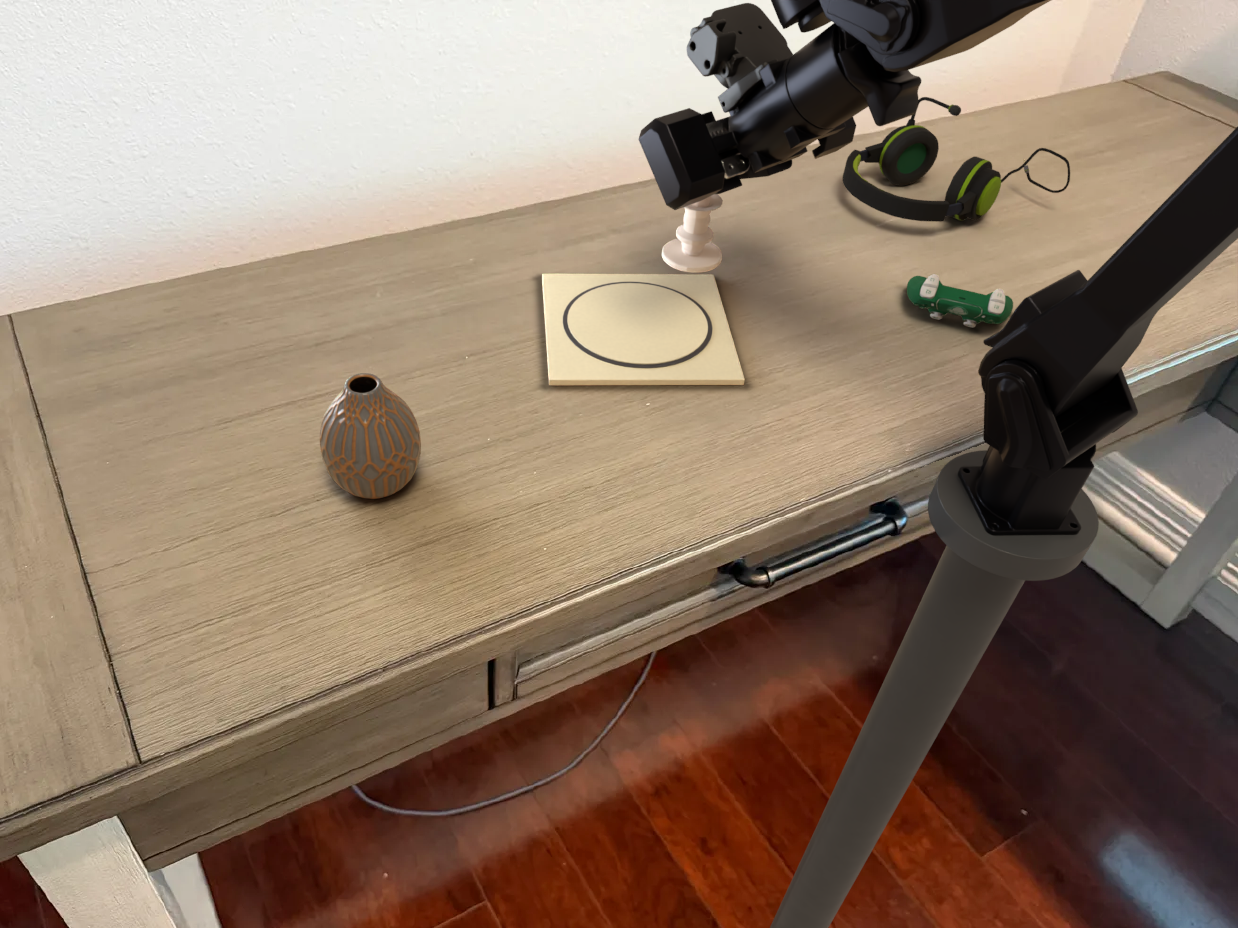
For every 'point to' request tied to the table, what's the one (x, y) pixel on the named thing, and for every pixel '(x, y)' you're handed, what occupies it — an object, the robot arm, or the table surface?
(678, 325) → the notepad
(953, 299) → the gaming controller
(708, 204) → the candle
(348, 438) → the vase
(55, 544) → the table surface
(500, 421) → the table surface
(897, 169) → the headphones
